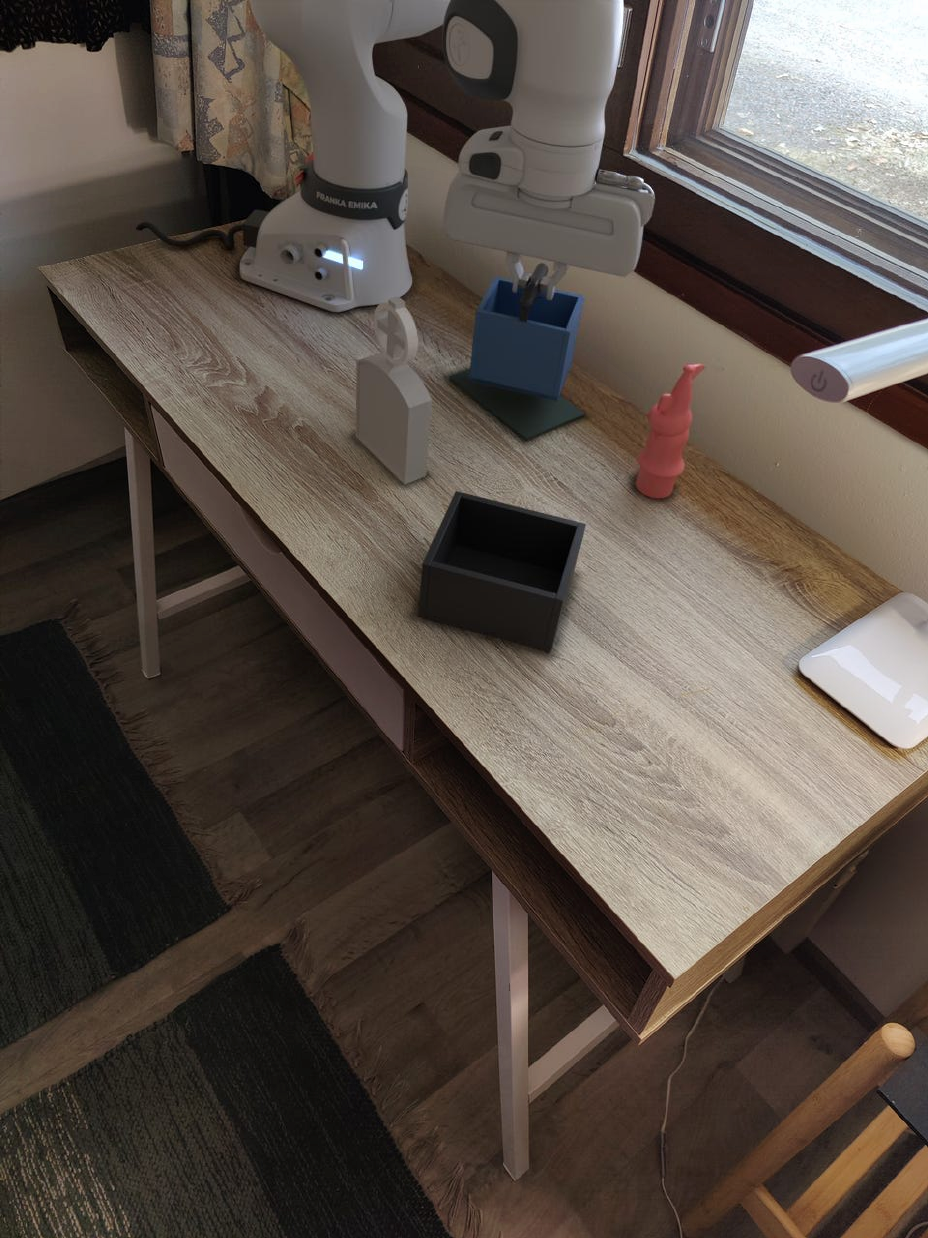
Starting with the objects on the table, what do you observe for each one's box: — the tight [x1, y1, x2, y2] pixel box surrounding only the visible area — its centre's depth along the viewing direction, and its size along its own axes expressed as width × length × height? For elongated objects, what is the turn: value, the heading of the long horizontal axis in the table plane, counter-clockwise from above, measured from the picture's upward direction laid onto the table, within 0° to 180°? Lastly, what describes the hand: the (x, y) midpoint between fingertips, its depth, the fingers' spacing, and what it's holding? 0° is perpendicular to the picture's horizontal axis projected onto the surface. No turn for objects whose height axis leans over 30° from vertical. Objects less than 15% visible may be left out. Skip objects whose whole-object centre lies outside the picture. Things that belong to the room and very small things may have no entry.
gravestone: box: [355, 296, 433, 485], centre depth 95 cm, size 3×9×18 cm, turn 37°
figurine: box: [635, 362, 706, 499], centre depth 97 cm, size 5×5×15 cm
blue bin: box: [469, 262, 585, 401], centre depth 104 cm, size 10×9×11 cm
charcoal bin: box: [417, 490, 587, 653], centre depth 87 cm, size 12×10×7 cm
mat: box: [448, 368, 586, 442], centre depth 111 cm, size 14×9×1 cm, turn 39°
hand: (532, 293), depth 102 cm, fingers closed on blue bin
